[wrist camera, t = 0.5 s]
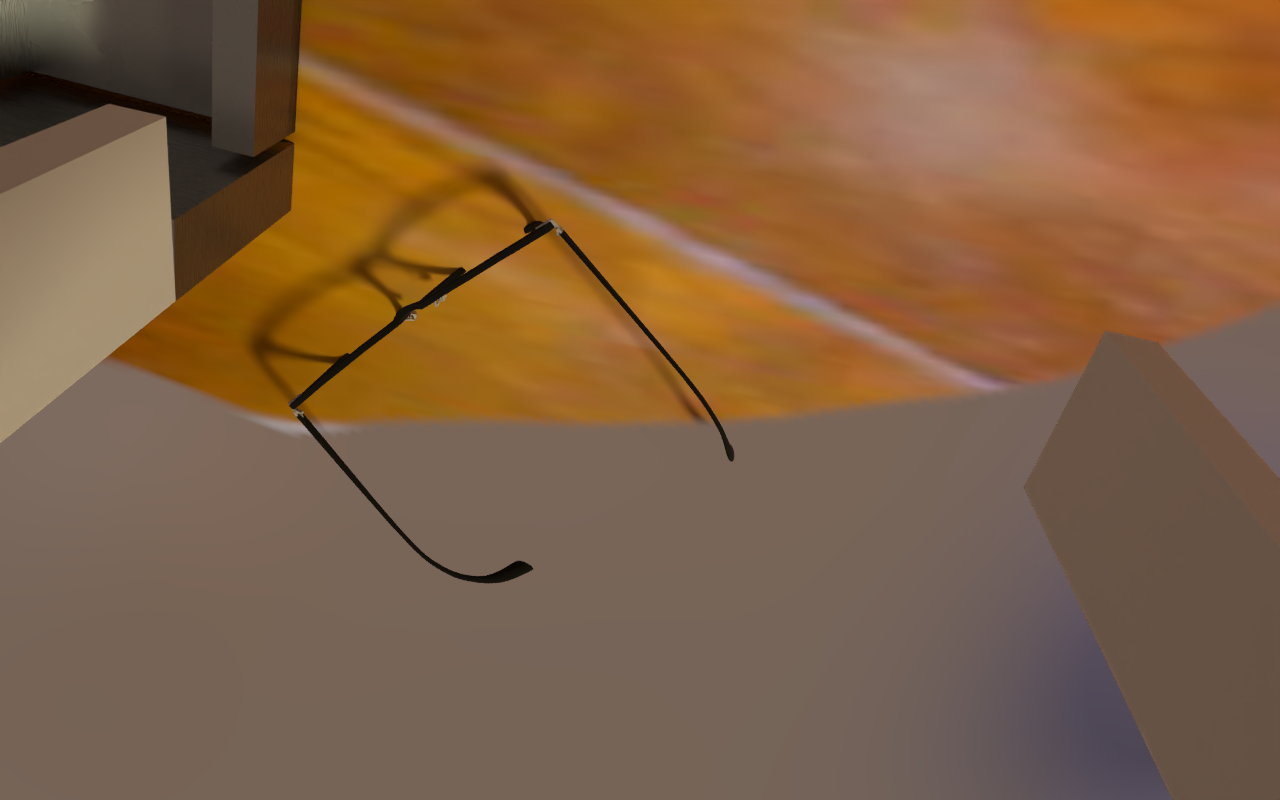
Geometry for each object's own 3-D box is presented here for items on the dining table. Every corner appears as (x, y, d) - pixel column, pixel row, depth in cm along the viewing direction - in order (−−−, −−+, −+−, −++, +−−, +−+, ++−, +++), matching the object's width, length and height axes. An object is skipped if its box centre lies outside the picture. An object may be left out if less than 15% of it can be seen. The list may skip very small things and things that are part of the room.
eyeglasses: (565, 176, 40) (550, 205, 36) (765, 440, 45) (769, 487, 42) (299, 368, 45) (264, 409, 42) (507, 582, 51) (491, 634, 47)
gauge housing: (-21, -211, 34) (-278, -240, 25) (308, -122, 34) (169, -120, 26) (13, 140, 40) (-181, 214, 31) (290, 210, 41) (175, 301, 32)
